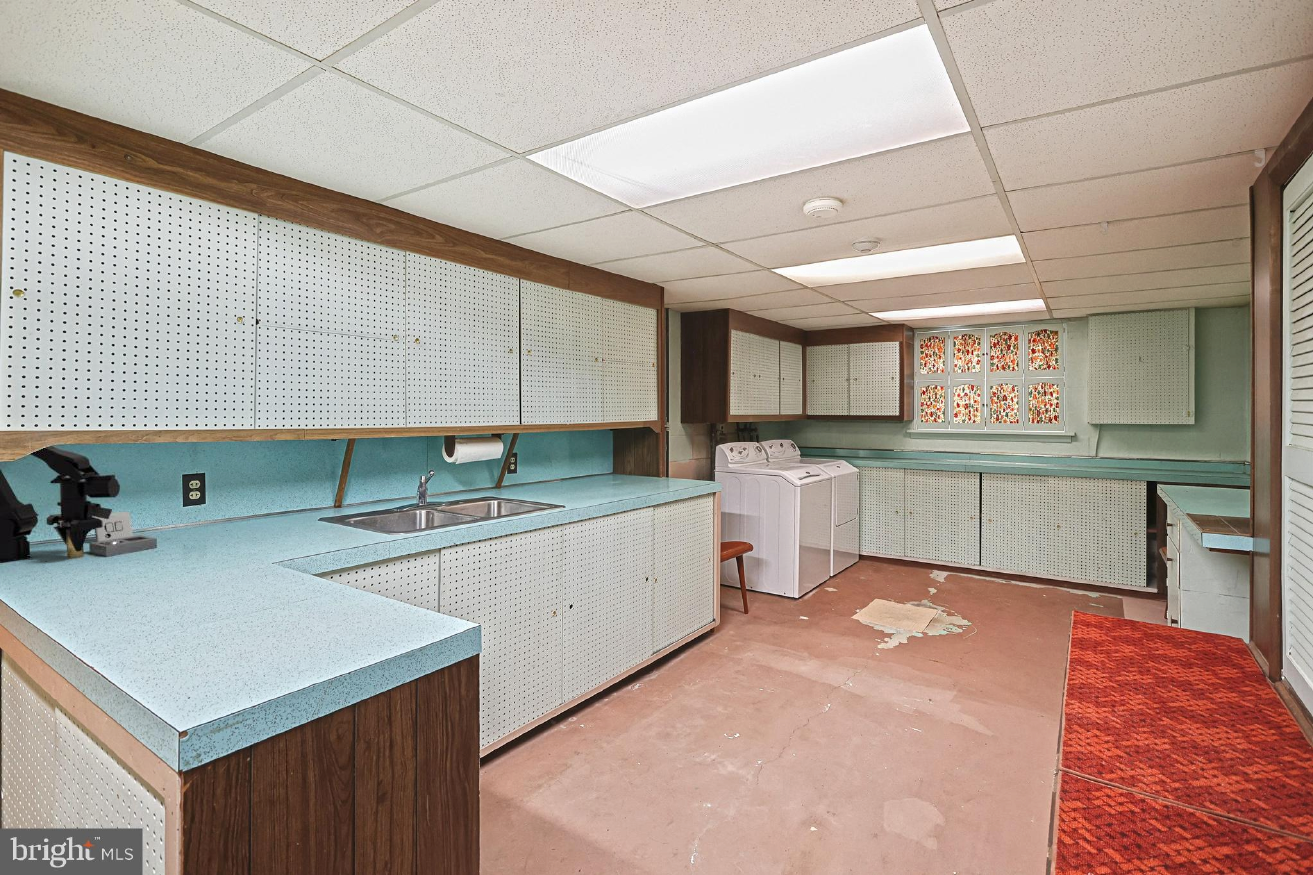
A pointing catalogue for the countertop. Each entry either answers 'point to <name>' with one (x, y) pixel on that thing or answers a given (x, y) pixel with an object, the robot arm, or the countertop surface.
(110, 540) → the silver round knob
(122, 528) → the electrical switch
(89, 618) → the countertop surface
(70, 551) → the gold domed cylinder
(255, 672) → the countertop surface
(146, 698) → the countertop surface
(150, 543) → the jig
